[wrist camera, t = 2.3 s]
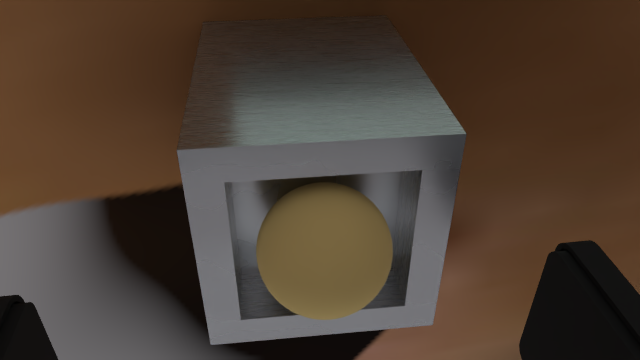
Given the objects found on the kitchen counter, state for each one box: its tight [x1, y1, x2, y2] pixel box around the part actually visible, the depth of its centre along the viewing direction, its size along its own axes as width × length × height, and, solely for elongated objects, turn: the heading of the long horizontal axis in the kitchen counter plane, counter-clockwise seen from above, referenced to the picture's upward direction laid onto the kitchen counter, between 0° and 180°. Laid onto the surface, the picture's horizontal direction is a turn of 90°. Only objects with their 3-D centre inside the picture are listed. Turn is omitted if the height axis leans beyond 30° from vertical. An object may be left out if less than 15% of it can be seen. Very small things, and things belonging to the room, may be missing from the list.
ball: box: [256, 182, 393, 320], centre depth 12 cm, size 3×3×3 cm
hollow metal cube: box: [177, 15, 466, 345], centre depth 15 cm, size 6×6×8 cm
